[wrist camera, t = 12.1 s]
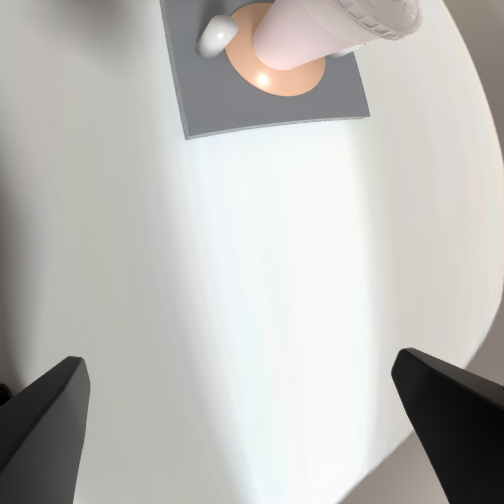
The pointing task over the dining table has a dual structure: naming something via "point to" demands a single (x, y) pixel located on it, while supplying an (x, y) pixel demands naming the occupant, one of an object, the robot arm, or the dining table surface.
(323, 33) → the smoothie
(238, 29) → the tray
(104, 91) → the dining table surface
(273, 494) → the dining table surface
